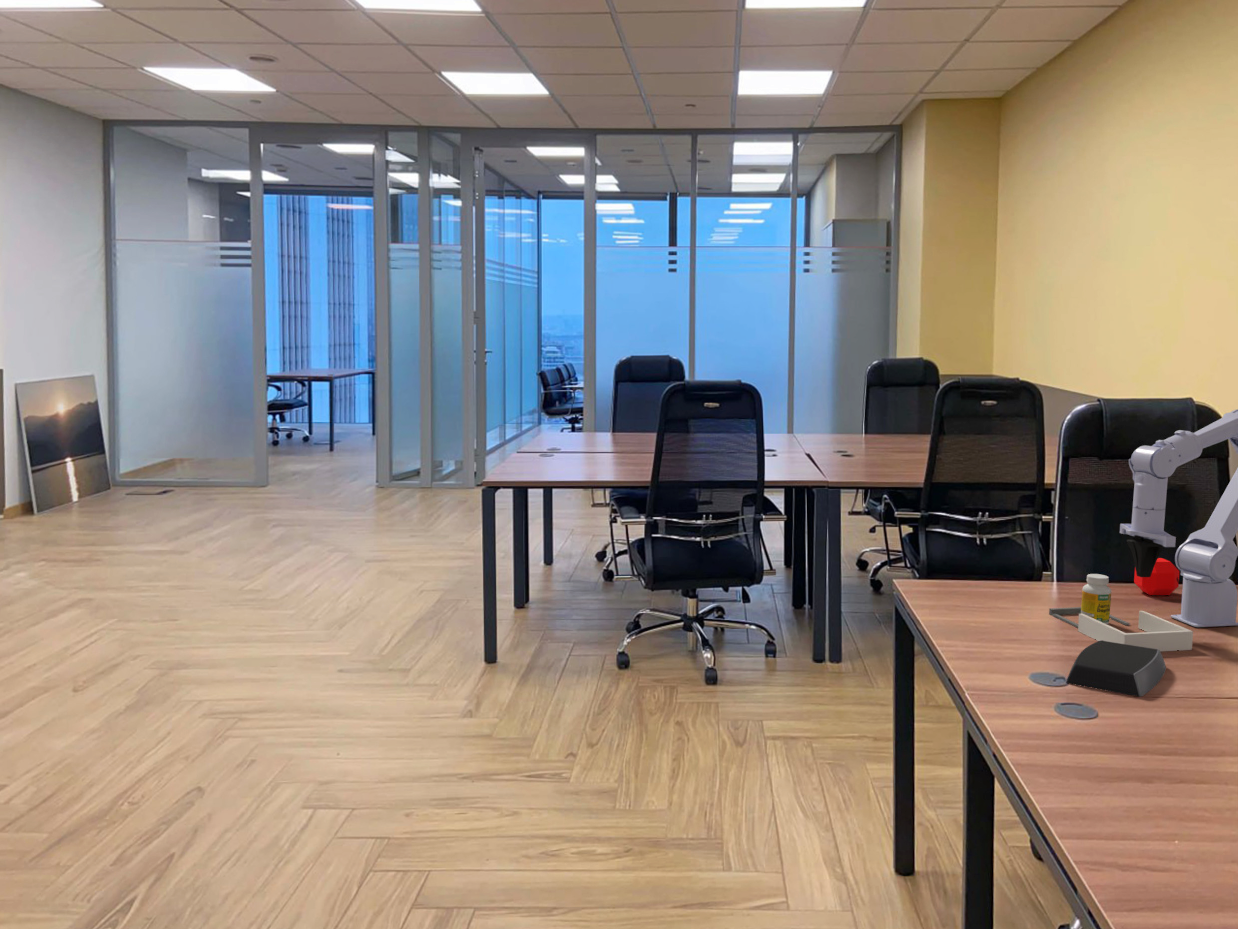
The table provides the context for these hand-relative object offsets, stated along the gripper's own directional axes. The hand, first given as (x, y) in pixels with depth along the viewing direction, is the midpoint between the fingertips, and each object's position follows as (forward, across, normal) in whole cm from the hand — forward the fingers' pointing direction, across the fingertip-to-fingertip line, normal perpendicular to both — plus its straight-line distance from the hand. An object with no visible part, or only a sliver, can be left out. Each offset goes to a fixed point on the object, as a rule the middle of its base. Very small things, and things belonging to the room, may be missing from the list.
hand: (1143, 576), depth 214 cm
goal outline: (+10, -7, -6) cm, 14 cm away
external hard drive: (+12, +26, -22) cm, 35 cm away
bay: (+11, +7, -6) cm, 14 cm away
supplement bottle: (+11, -5, -6) cm, 14 cm away
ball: (+10, -25, +21) cm, 34 cm away
